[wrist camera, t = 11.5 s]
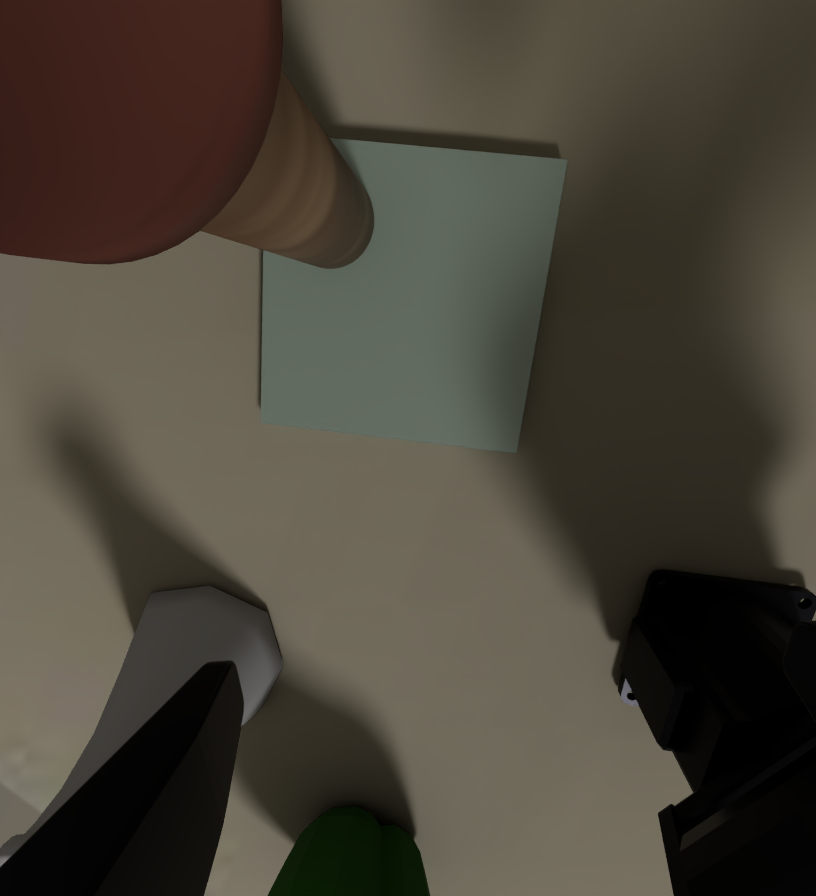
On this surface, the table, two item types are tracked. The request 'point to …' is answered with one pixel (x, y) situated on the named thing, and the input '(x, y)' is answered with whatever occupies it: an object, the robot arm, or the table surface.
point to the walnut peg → (164, 135)
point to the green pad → (418, 302)
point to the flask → (173, 672)
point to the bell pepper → (352, 859)
